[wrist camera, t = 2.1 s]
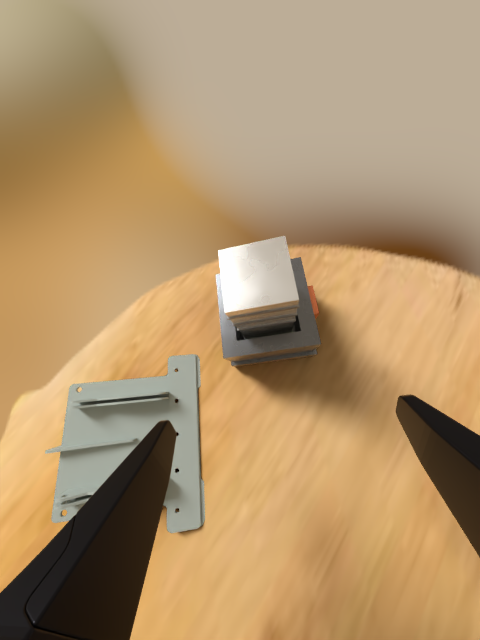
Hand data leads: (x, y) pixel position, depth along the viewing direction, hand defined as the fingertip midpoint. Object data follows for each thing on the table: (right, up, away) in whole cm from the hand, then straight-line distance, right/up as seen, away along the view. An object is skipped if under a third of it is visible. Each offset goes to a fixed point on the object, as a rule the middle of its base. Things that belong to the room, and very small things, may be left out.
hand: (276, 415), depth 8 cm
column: (+1, +4, +12) cm, 13 cm away
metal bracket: (-11, -8, +14) cm, 20 cm away
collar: (+2, +3, +14) cm, 14 cm away
